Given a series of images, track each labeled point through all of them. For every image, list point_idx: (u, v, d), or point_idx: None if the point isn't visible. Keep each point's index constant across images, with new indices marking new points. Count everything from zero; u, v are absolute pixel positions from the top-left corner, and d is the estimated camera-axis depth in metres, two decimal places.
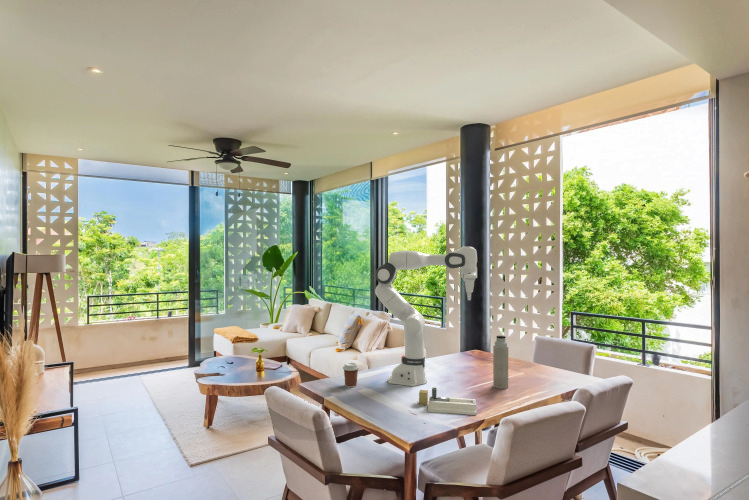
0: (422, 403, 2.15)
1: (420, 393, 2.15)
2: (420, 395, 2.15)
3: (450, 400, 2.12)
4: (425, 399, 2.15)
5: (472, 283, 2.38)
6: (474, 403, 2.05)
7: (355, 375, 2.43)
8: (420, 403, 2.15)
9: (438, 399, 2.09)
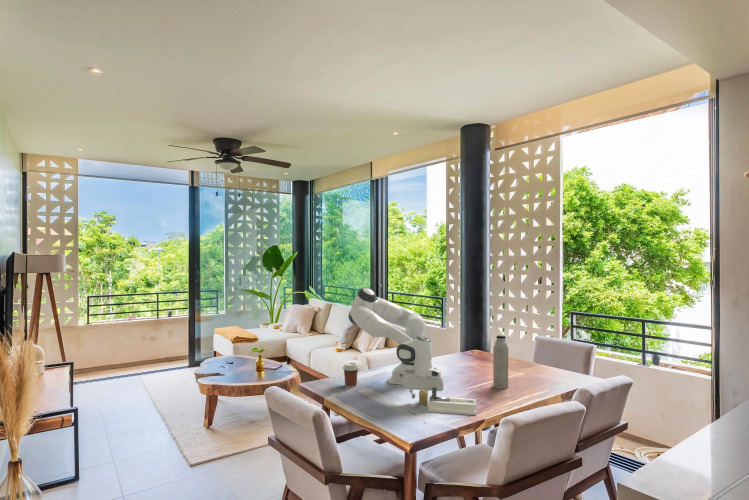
0: (422, 403, 2.15)
1: (420, 393, 2.15)
2: (420, 395, 2.15)
3: (450, 400, 2.12)
4: (425, 399, 2.15)
5: None
6: (474, 403, 2.05)
7: (355, 375, 2.43)
8: (420, 403, 2.15)
9: (438, 399, 2.09)
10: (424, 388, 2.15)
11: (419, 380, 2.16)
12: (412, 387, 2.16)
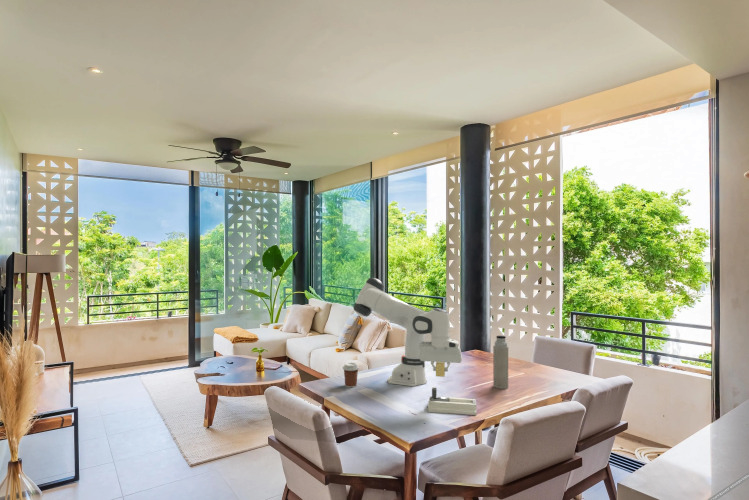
0: (439, 375, 2.10)
1: (437, 364, 2.10)
2: (437, 366, 2.10)
3: (450, 400, 2.12)
4: (442, 371, 2.10)
5: (460, 351, 2.11)
6: (474, 403, 2.05)
7: (355, 375, 2.43)
8: (437, 375, 2.10)
9: (438, 399, 2.09)
10: (441, 360, 2.10)
11: (436, 352, 2.11)
12: (429, 359, 2.12)
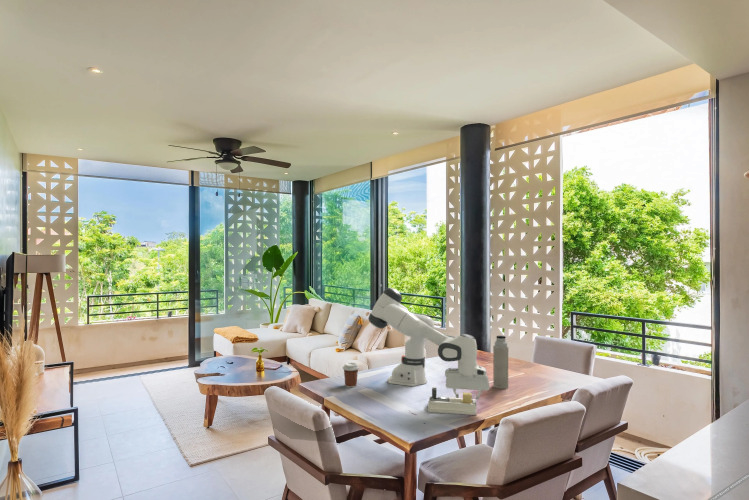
0: None
1: (464, 396, 2.06)
2: (464, 398, 2.06)
3: (450, 400, 2.12)
4: (469, 402, 2.06)
5: None
6: (474, 403, 2.05)
7: (355, 375, 2.43)
8: None
9: (438, 399, 2.09)
10: (469, 387, 2.06)
11: (463, 379, 2.07)
12: (456, 386, 2.07)
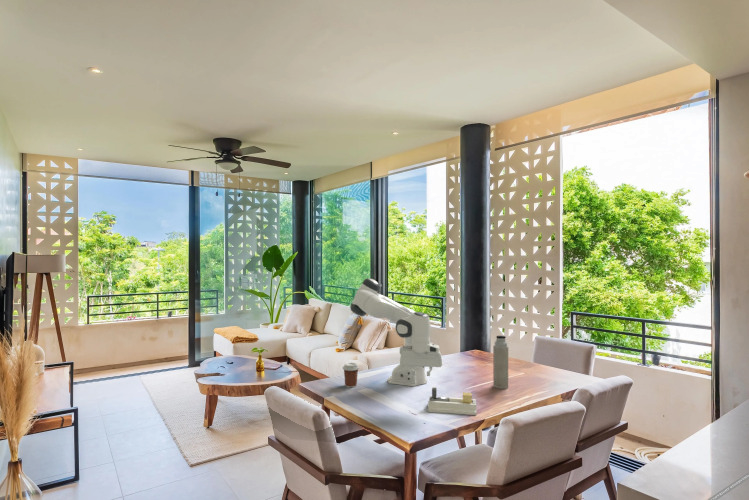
0: None
1: (464, 396, 2.06)
2: (464, 398, 2.06)
3: (450, 400, 2.12)
4: (469, 402, 2.06)
5: None
6: (474, 403, 2.05)
7: (355, 375, 2.43)
8: None
9: (438, 399, 2.09)
10: (422, 364, 2.10)
11: (417, 356, 2.11)
12: (410, 363, 2.11)
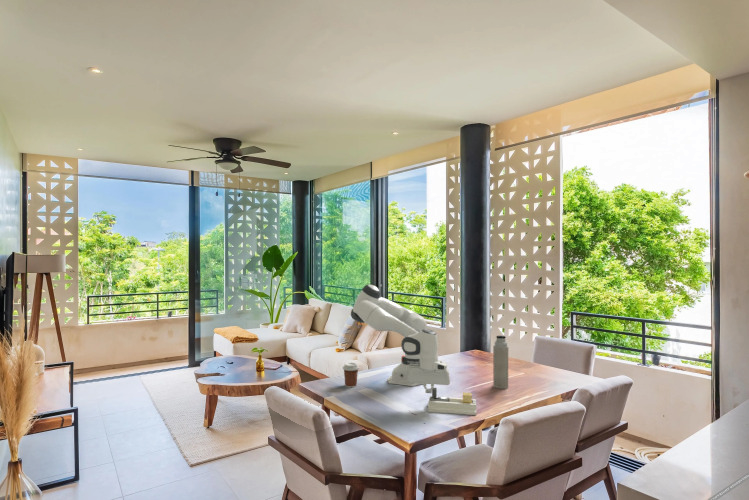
0: None
1: (464, 396, 2.06)
2: (464, 398, 2.06)
3: (450, 400, 2.12)
4: (469, 402, 2.06)
5: None
6: (474, 403, 2.05)
7: (355, 375, 2.43)
8: None
9: (438, 399, 2.09)
10: (430, 382, 2.09)
11: (425, 374, 2.10)
12: (417, 381, 2.10)
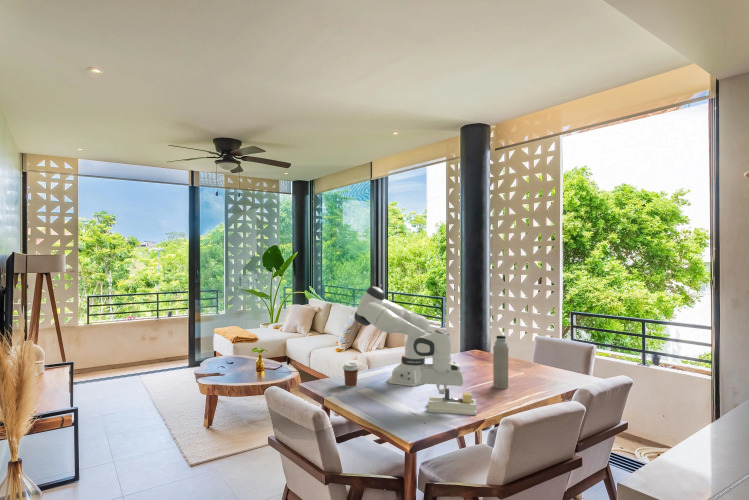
0: None
1: (464, 396, 2.06)
2: (464, 398, 2.06)
3: None
4: (469, 402, 2.06)
5: None
6: (474, 403, 2.05)
7: (355, 375, 2.43)
8: None
9: (451, 400, 2.08)
10: (443, 383, 2.08)
11: (438, 375, 2.09)
12: (430, 382, 2.09)
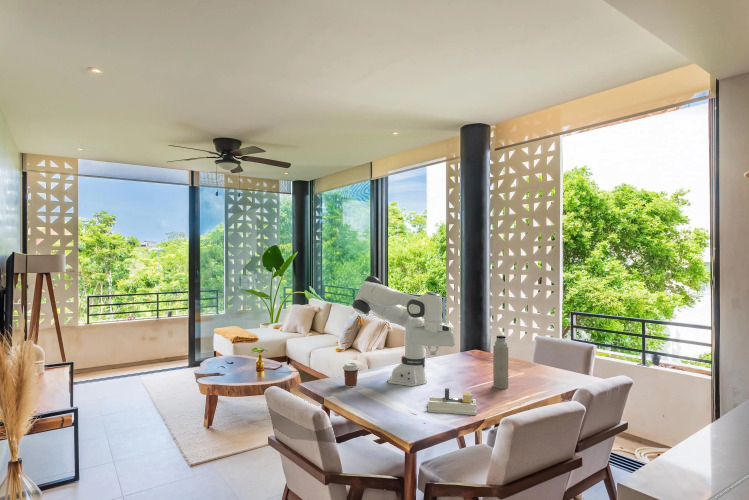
0: None
1: (464, 396, 2.06)
2: (464, 398, 2.06)
3: None
4: (469, 402, 2.06)
5: None
6: (474, 403, 2.05)
7: (355, 375, 2.43)
8: None
9: (451, 400, 2.08)
10: (434, 344, 2.09)
11: (429, 336, 2.10)
12: (422, 343, 2.10)
